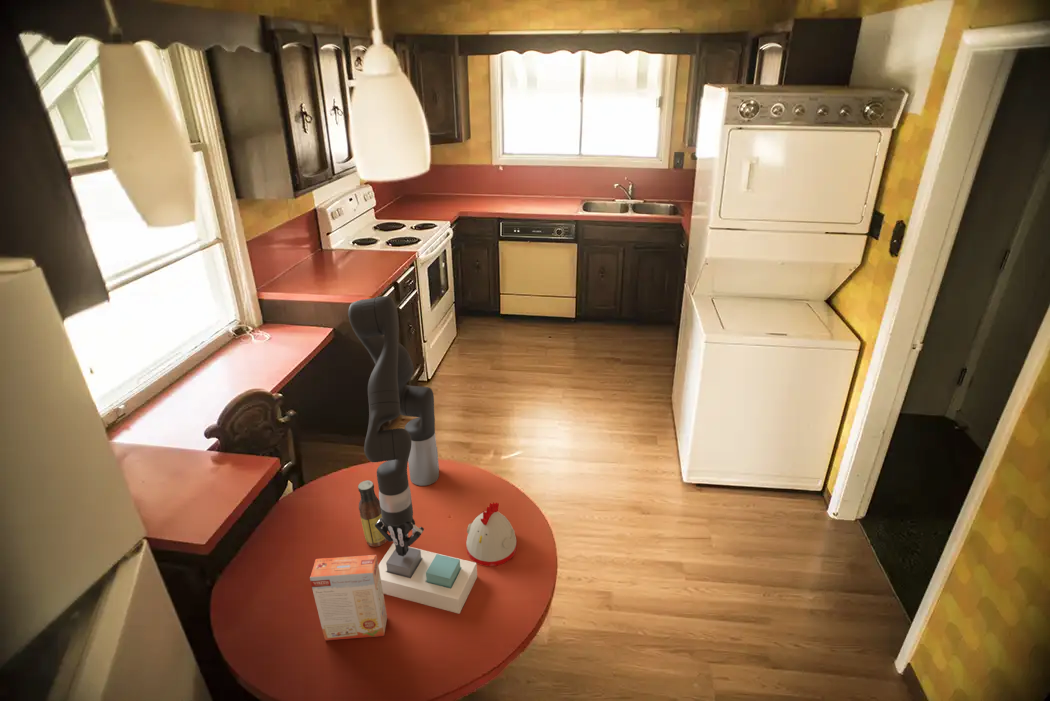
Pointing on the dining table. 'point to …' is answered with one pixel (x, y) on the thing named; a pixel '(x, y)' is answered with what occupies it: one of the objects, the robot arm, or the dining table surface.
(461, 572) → the key housing
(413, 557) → the charcoal key
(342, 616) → the cracker box
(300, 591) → the dining table surface
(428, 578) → the teal key
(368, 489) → the sauce bottle
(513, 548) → the kitchen timer
